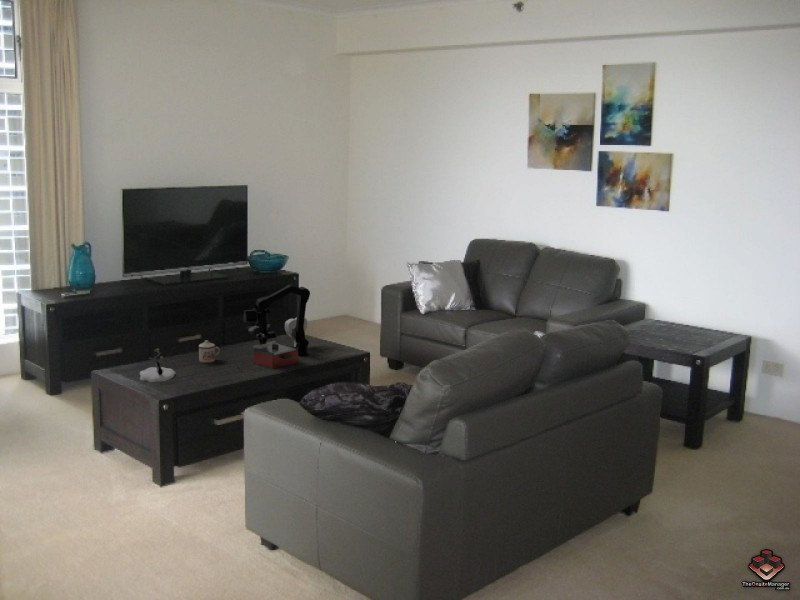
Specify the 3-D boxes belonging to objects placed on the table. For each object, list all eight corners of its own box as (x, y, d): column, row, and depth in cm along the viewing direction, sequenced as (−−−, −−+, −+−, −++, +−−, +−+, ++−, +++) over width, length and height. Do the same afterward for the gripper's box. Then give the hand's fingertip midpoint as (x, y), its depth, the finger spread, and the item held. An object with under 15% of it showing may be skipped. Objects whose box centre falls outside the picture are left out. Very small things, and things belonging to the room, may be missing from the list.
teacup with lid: (202, 363, 483) (202, 343, 481) (196, 359, 491) (195, 339, 488) (222, 360, 490) (222, 340, 488) (216, 357, 497) (216, 337, 495)
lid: (275, 347, 500) (274, 339, 499) (295, 353, 489) (295, 345, 488) (253, 352, 489) (253, 344, 488) (274, 358, 477) (274, 350, 476)
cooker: (279, 356, 501) (279, 342, 499) (300, 363, 489) (300, 348, 488) (253, 362, 488) (253, 348, 486) (275, 369, 476) (275, 354, 474)
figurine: (143, 369, 468) (142, 340, 463) (177, 369, 469) (176, 341, 464) (135, 384, 449) (133, 354, 444) (171, 384, 450) (170, 355, 445)
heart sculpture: (302, 344, 530) (302, 315, 526) (308, 345, 527) (308, 316, 523) (283, 349, 518) (283, 319, 514) (289, 350, 515) (289, 321, 511)
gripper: (240, 320, 493) (240, 346, 496) (261, 326, 480) (261, 353, 484) (256, 317, 501) (256, 343, 504) (277, 322, 489) (277, 349, 492)
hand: (262, 347), depth 496 cm, fingers closed
